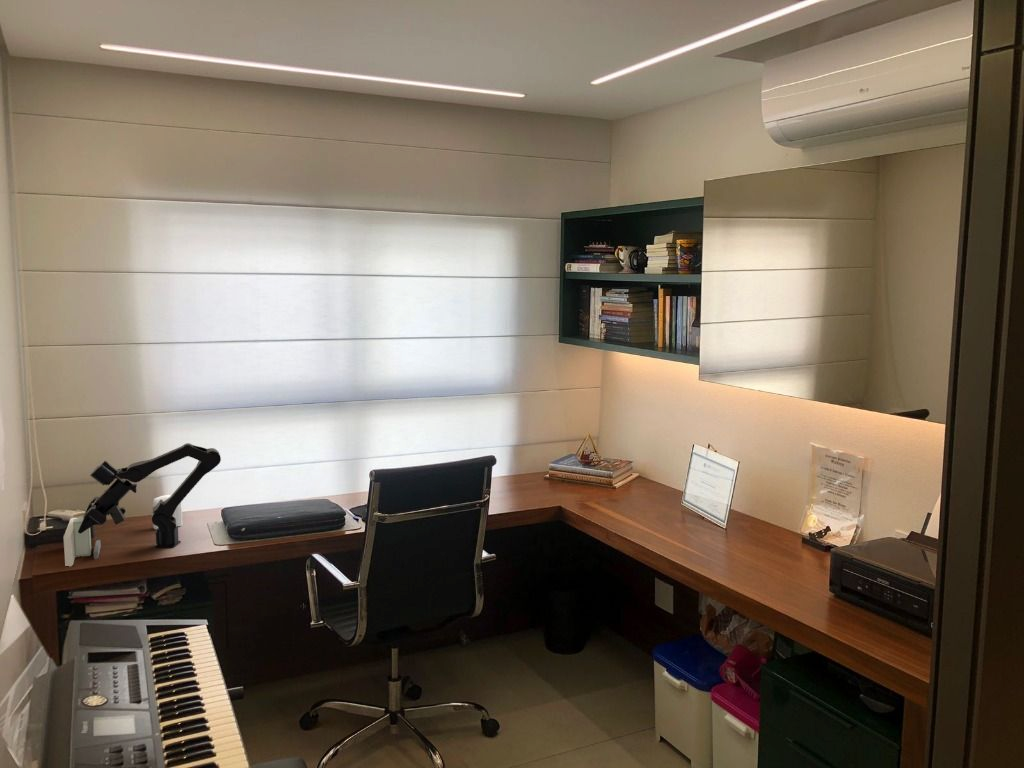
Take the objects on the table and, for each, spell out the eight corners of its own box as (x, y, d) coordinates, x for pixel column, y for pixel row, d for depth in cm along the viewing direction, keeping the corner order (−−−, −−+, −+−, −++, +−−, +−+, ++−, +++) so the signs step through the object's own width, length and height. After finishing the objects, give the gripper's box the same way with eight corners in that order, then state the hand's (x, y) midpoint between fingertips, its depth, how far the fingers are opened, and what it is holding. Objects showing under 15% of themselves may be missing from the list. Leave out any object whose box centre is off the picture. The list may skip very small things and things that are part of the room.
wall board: (101, 542, 294) (100, 515, 293) (96, 563, 272) (95, 533, 271) (72, 545, 290) (70, 518, 289) (65, 566, 268) (63, 536, 267)
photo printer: (181, 523, 318) (179, 492, 317) (183, 526, 315) (182, 494, 313) (152, 527, 312) (151, 495, 311) (154, 530, 309) (153, 498, 307)
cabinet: (91, 551, 284) (89, 517, 283) (90, 555, 280) (88, 521, 278) (76, 553, 282) (74, 518, 281) (75, 557, 278) (73, 522, 277)
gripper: (132, 515, 277) (98, 551, 274) (134, 502, 294) (101, 535, 291) (105, 494, 273) (69, 531, 270) (108, 482, 290) (75, 516, 287)
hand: (80, 529), depth 280 cm, fingers open, 9 cm apart
